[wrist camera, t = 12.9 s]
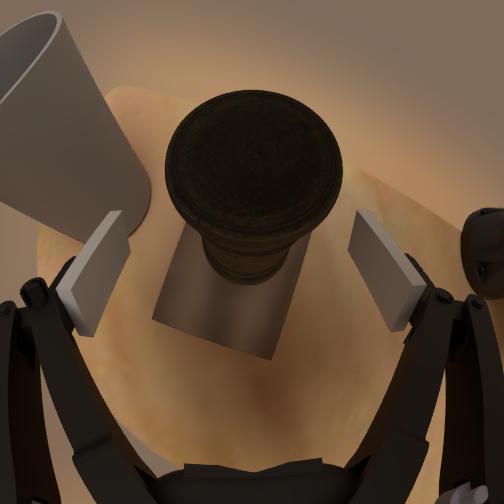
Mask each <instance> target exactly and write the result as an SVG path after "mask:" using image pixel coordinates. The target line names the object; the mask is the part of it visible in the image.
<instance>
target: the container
mask: <svg viewBox="0 0 504 504" xmlns="http://www.w3.org/2000/svg"><path fill="white" fill-rule="evenodd" d="M342 178H343V165H342V157H341V153H340V149H339V146H338V143H337V141H336V139H335V137H334V135H333V133H332V132H331V130H330V129H329V127H328V126H327V124H326V123H325V122H324V121H323V120H322V118H321V117H320V116H319V115H317V114H316V113H315V112H314V111H313V110H311V109H310V108H309V107H307V106H306V105H304V104H303V103H301V102H299V101H297V100H295V99H293V98H291V97H289V96H286V95H283V94H279V93H275V92H270V91H264V90H241V91H234V92H230V93H225V94H222V95H219V96H217V97H214V98H212V99H210V100H208V101H206V102H204V103H202V104H201V105H199V106H198V107H196V108H195V109H194V110H193V111H191V112H190V113H189V114H188V115H187V116H186V117H185V118H184V119H183V120H182V122H181V123H180V124H179V126H178V127H177V129H176V130H175V132H174V134H173V136H172V138H171V140H170V143H169V146H168V149H167V153H166V159H165V180H166V186H167V190H168V193H169V196H170V198H171V200H172V202H173V205H174V206H175V208H176V210H177V211H178V213H179V214H180V215H181V216H182V218H183V219H184V220H185V221H186V222H187V223H188V224H189V225H190V226H191V227H193V228H194V229H195V230H196V231H197V232H198V233H199V234H200V235H201V237H202V245H203V249H204V253H205V256H206V258H207V260H208V262H209V264H210V265H211V267H212V268H213V269H214V270H215V271H216V272H217V273H218V274H219V275H220V276H222V277H223V278H225V279H227V280H229V281H231V282H233V283H237V284H241V285H256V284H260V283H263V282H265V281H267V280H269V279H270V278H272V277H273V276H274V275H275V274H276V273H277V272H278V271H279V270H280V269H281V267H282V266H283V264H284V263H285V261H286V258H287V256H288V253H289V250H290V247H291V246H292V245H293V244H294V243H296V242H297V241H298V240H299V239H300V238H301V237H303V236H305V235H306V234H308V233H309V232H311V231H312V230H313V229H315V228H316V227H317V226H318V225H319V224H320V223H321V222H322V221H323V220H324V219H325V218H326V217H327V216H328V214H329V213H330V211H331V210H332V208H333V206H334V204H335V203H336V200H337V198H338V195H339V192H340V189H341V184H342Z"/></svg>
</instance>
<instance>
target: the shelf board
mask: <svg viewBox="0 0 504 504" xmlns="http://www.w3.org/2000/svg"><path fill="white" fill-rule="evenodd" d="M311 232H312V231H311ZM311 232H309V233H308V234H306V235H305V236H303V237H301V238H300V239H299V240H298V241H297V242H296V243H294V244H293V245H292V246H291V247H290V250H289V253H288V256H287V258H286V261H285V263H284V264H283V266H282V267H281V269H280V270H279V271H278V272H277V273H276V274H275V275H274V276H273V277H272V278H270V279H269V280H267V281H265V282H263V283H260V284H256V285H241V284H237V283H233V282H231V281H229V280H227V279H225V278H223V277H222V276H220V275H219V274H218V273H217V272H216V271H215V270H214V269H213V268H212V267H211V265H210V264H209V262H208V260H207V258H206V256H205V253H204V249H203V245H202V237H201V235H200V234H199V233H198V232H197V231H196V230H195V229H194V228H193V227H191V226H190V225H189V224H188V223H187V222H186V224H185V227H184V229H183V232H182V235H181V237H180V240H179V242H178V245H177V248H176V250H175V253H174V256H173V258H172V261H171V264H170V267H169V269H168V272H167V275H166V278H165V281H164V283H163V286H162V289H161V292H160V295H159V298H158V301H157V304H156V307H155V310H154V313H153V316H152V319H153V320H155V321H158V322H160V323H163V324H165V325H168V326H171V327H173V328H176V329H178V330H181V331H184V332H186V333H189V334H192V335H194V336H197V337H200V338H203V339H206V340H208V341H211V342H214V343H217V344H220V345H223V346H226V347H229V348H232V349H235V350H238V351H241V352H245V353H248V354H251V355H254V356H258V357H261V358H264V359H268V360H272V357H273V354H274V351H275V348H276V345H277V342H278V339H279V336H280V333H281V330H282V327H283V324H284V321H285V318H286V315H287V312H288V309H289V306H290V302H291V299H292V296H293V293H294V290H295V286H296V283H297V280H298V277H299V273H300V270H301V267H302V263H303V260H304V256H305V253H306V250H307V246H308V243H309V239H310V236H311Z"/></svg>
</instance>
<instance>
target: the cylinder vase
mask: <svg viewBox="0 0 504 504" xmlns="http://www.w3.org/2000/svg"><path fill="white" fill-rule="evenodd" d="M150 194H151V188H150V181H149V177H148V174H147V172H146V170H145V169H144V167H143V165H142V164H141V162H140V160H139V159H138V157H137V155H136V154H135V152H134V150H133V149H132V147H131V145H130V144H129V142H128V140H127V138H126V137H125V135H124V133H123V131H122V130H121V128H120V126H119V125H118V123H117V121H116V119H115V117H114V116H113V114H112V112H111V110H110V109H109V107H108V105H107V103H106V101H105V100H104V98H103V96H102V94H101V92H100V91H99V89H98V87H97V85H96V84H95V81H94V79H93V77H92V76H91V74H90V72H89V70H88V68H87V66H86V64H85V62H84V60H83V58H82V56H81V54H80V52H79V51H78V48H77V47H76V45H75V42H74V40H73V38H72V37H71V35H70V32H69V30H68V28H67V26H66V24H65V22H64V20H63V18H62V16H61V14H60V13H59V12H57V11H45V12H41V13H38V14H35V15H33V16H31V17H28V18H26V19H24V20H22V21H21V22H19V23H17V24H16V25H14V26H13V27H11V28H9V29H8V30H7V31H5V32H4V33H2V34H1V35H0V201H1V202H3V203H4V204H6V205H8V206H10V207H12V208H14V209H16V210H17V211H19V212H21V213H23V214H25V215H27V216H29V217H31V218H33V219H35V220H37V221H39V222H41V223H43V224H45V225H47V226H49V227H51V228H53V229H55V230H57V231H59V232H61V233H63V234H65V235H67V236H69V237H71V238H74V239H76V240H78V241H80V242H82V243H84V244H86V243H87V241H88V240H89V238H90V237H91V236H92V234H93V233H94V232H95V230H96V229H97V228H98V226H99V225H100V224H101V222H102V221H103V220H104V218H105V217H106V216H107V215H108V213H109V212H110V211H121V210H122V212H123V218H124V223H125V228H126V232H127V236H129V235H130V234H131V233H132V232H133V231H134V230H135V229H136V228H137V226H138V225H139V224H140V222H141V221H142V219H143V217H144V216H145V213H146V211H147V208H148V205H149V201H150Z"/></svg>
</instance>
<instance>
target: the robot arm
mask: <svg viewBox="0 0 504 504" xmlns="http://www.w3.org/2000/svg"><path fill="white" fill-rule="evenodd" d="M348 252H349V253H350V255H351V257H352V259H353V261H354V262H355V264H356V266H357V268H358V270H359V272H360V273H361V275H362V277H363V279H364V281H365V283H366V285H367V286H368V288H369V290H370V292H371V294H372V296H373V298H374V300H375V302H376V304H377V306H378V308H379V310H380V312H381V314H382V316H383V318H384V320H385V322H386V324H387V326H388V328H389V330H390V332H396V331H402V330H404V329H405V327H406V325H407V323H408V322H410V324H411V326H412V328H411V330H410V332H409V333H408V335H407V337H406V339H405V340H404V342H403V343H404V344H405V346H404V349H403V352H402V354H401V357H400V360H399V362H398V365H397V367H396V370H395V372H394V375H393V377H392V380H391V382H390V385H389V387H388V389H387V392H386V394H385V396H384V398H383V401H382V403H381V405H380V407H379V409H378V411H377V413H376V415H375V417H374V419H373V421H372V423H371V425H370V427H369V429H368V431H367V433H366V435H365V437H364V439H363V441H362V442H361V444H360V446H359V448H358V449H357V451H356V452H355V454H354V455H353V456H352V458H351V459H350V460H349V461H348V463H347V464H346V466H345V467H344V468H342V467H339V466H335V465H331V464H324V463H323V462H322V458H316V459H309V460H302V461H294V462H288V463H285V464H282V465H279V466H276V467H272V468H269V469H266V470H262V471H259V472H247V471H242V470H237V469H233V468H228V467H224V466H220V465H200V464H184V469H182V470H177V471H174V472H170V473H168V474H165V475H163V476H161V477H159V478H157V477H156V476H155V474H154V473H153V472H152V471H151V470H150V468H149V467H148V466H147V465H146V464H145V463H144V462H143V460H142V459H141V458H140V457H139V456H138V454H137V453H136V451H135V450H134V448H133V447H132V445H131V444H130V442H129V441H128V439H127V438H126V436H125V435H124V433H123V431H122V430H121V428H120V427H119V425H118V423H117V422H116V420H115V418H114V417H113V415H112V413H111V412H110V410H109V408H108V406H107V405H106V403H105V401H104V399H103V397H102V396H101V394H100V392H99V390H98V388H97V386H96V384H95V382H94V380H93V378H92V376H91V374H90V372H89V370H88V368H87V366H86V364H85V361H84V359H83V357H82V355H81V353H80V350H79V348H78V346H77V343H76V341H75V338H74V337H73V335H72V332H73V329H74V327H75V329H76V330H77V332H78V334H79V336H86V337H94V334H95V332H96V329H97V327H98V324H99V322H100V319H101V317H102V314H103V312H104V310H105V307H106V305H107V302H108V300H109V298H110V296H111V293H112V291H113V289H114V287H115V284H116V282H117V280H118V278H119V276H120V273H121V271H122V269H123V267H124V265H125V263H126V261H127V259H128V257H129V255H130V253H131V250H130V246H129V242H128V237H127V232H126V228H125V223H124V218H123V212H122V210H121V211H110V212H109V213H108V215H107V216H106V217H105V218H104V220H103V221H102V222H101V224H100V225H99V226H98V228H97V229H96V230H95V232H94V233H93V234H92V236H91V237H90V238H89V240H88V241H87V243H86V244H85V245H84V247H83V248H82V250H81V251H80V253H79V254H78V255H77V256H73V257H72V258H71V259H69V260H68V261H67V262H66V263H65V264H64V266H63V267H62V269H61V271H60V272H59V273H58V276H56V278H55V279H54V281H53V282H52V284H51V285H50V287H49V288H48V286H47V284H46V282H45V280H44V279H43V278H41V277H37V278H33V279H31V280H29V281H28V282H26V283H25V284H24V285H23V286H22V288H21V289H20V295H21V297H22V299H23V301H24V303H25V305H26V306H27V307H23V308H17V306H16V305H15V303H14V302H13V301H5V302H3V303H1V304H0V504H61V497H60V493H59V489H58V485H57V481H56V477H55V473H54V469H53V465H52V460H51V456H50V451H49V446H48V440H47V434H46V428H45V421H44V412H43V404H42V392H41V375H40V364H41V368H42V371H43V374H44V377H45V380H46V384H47V387H48V390H49V393H50V395H51V398H52V401H53V404H54V406H55V409H56V411H57V414H58V416H59V419H60V421H61V424H62V426H63V428H64V431H65V433H66V435H67V437H68V439H69V442H70V444H71V446H72V448H73V450H74V455H73V456H72V460H73V463H74V465H75V467H76V469H77V471H78V473H79V475H80V477H81V478H82V480H83V482H84V484H85V485H86V487H87V489H88V490H89V492H90V493H91V495H92V497H93V499H94V500H95V502H96V503H97V504H405V502H406V501H407V498H408V496H409V494H410V492H411V490H412V488H413V486H414V484H415V482H416V479H417V477H418V475H419V472H420V470H421V467H422V465H423V463H424V460H425V457H426V455H427V452H428V448H429V442H428V441H426V434H427V431H428V428H429V425H430V422H431V419H432V416H433V412H434V409H435V406H436V402H437V398H438V395H439V391H440V387H441V383H442V379H443V374H444V370H445V377H446V410H445V431H444V443H443V453H442V462H441V469H440V478H439V497H438V499H437V500H436V502H435V504H504V373H503V367H502V362H501V357H500V352H499V347H498V343H497V339H496V335H495V331H494V327H493V323H492V319H491V316H490V312H489V309H488V306H487V304H486V302H485V301H484V300H483V299H486V300H494V299H500V298H503V297H504V208H482V209H480V210H478V211H475V212H473V213H472V214H471V215H469V217H468V218H467V219H466V221H465V224H464V227H463V230H462V237H461V253H462V261H463V266H464V269H465V273H466V276H467V278H468V281H469V283H470V285H471V287H472V288H473V290H474V291H475V292H476V293H477V294H478V295H479V296H478V295H475V294H469V295H468V296H467V298H466V300H465V301H464V302H462V301H457V300H454V298H453V296H452V295H451V294H450V293H449V292H448V291H446V290H445V289H442V288H436V287H435V286H434V284H433V283H432V281H431V280H430V279H429V277H428V276H427V275H426V273H425V272H423V269H422V268H421V267H419V264H418V263H417V262H416V260H415V259H414V258H413V257H411V256H410V255H409V254H407V253H403V252H402V250H401V249H400V248H399V247H398V245H397V244H396V243H395V242H394V240H393V239H392V238H391V237H390V235H389V234H388V233H387V232H386V230H385V229H384V228H383V227H382V226H381V224H380V223H379V222H378V221H377V220H376V218H375V217H374V216H373V215H372V214H371V213H370V211H369V210H357V211H356V216H355V221H354V225H353V230H352V234H351V239H350V243H349V247H348Z"/></svg>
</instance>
